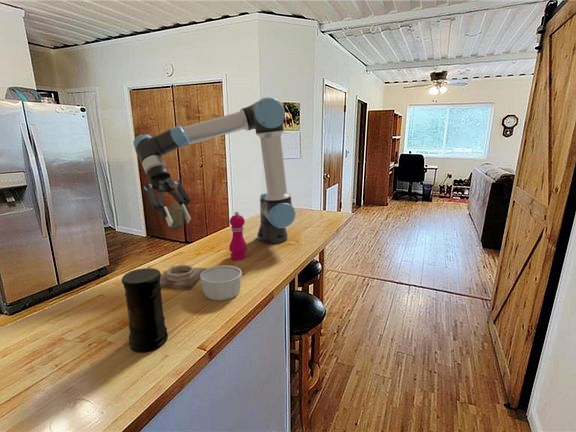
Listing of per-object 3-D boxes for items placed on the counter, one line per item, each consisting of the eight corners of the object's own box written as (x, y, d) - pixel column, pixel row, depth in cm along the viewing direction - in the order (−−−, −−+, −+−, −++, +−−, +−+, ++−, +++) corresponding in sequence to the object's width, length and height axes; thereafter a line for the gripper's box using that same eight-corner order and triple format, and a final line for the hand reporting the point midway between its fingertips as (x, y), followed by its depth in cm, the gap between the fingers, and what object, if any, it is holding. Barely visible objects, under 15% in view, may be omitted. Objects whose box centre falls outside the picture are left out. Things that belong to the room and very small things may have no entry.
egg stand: (207, 272, 118) (206, 263, 117) (190, 289, 104) (189, 280, 104) (172, 269, 120) (171, 261, 119) (151, 286, 107) (150, 277, 106)
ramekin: (198, 287, 106) (197, 268, 104) (236, 280, 111) (236, 262, 110) (204, 306, 94) (203, 285, 93) (247, 298, 100) (246, 278, 98)
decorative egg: (168, 233, 109) (165, 205, 106) (166, 228, 114) (164, 201, 111) (185, 231, 111) (183, 203, 109) (184, 226, 116) (182, 200, 114)
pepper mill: (243, 261, 128) (242, 214, 123) (227, 260, 129) (224, 213, 124) (249, 255, 135) (248, 209, 130) (233, 253, 136) (231, 209, 131)
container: (137, 331, 82) (129, 267, 78) (172, 329, 83) (166, 266, 79) (122, 354, 74) (112, 284, 69) (162, 352, 74) (154, 282, 70)
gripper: (177, 175, 125) (201, 223, 118) (127, 179, 112) (150, 233, 105) (183, 162, 120) (208, 212, 113) (131, 165, 107) (155, 221, 100)
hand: (180, 222), depth 109 cm, fingers closed on decorative egg, 6 cm apart
